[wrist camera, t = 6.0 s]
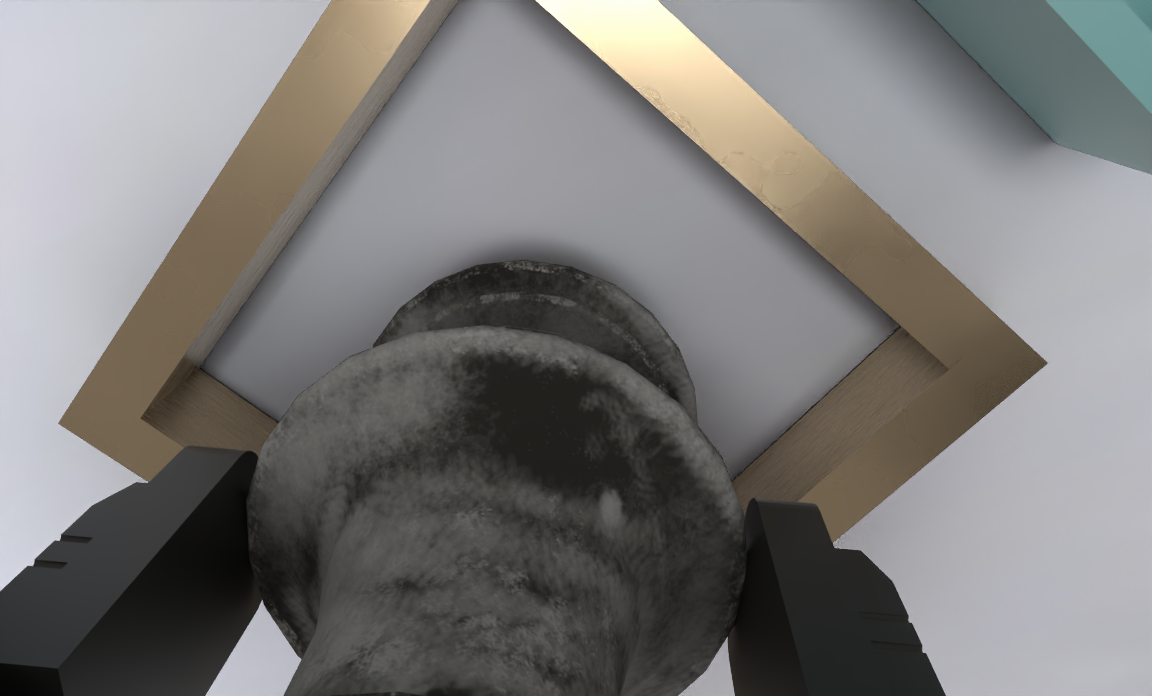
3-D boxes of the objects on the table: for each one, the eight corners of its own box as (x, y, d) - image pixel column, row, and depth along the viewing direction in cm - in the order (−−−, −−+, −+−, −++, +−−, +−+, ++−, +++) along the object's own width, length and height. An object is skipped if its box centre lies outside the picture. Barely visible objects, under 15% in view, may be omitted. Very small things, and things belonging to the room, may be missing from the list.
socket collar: (991, 315, 14) (1048, 362, 12) (579, 679, 18) (574, 758, 16) (480, -158, 12) (454, -189, 10) (126, 372, 15) (57, 423, 13)
